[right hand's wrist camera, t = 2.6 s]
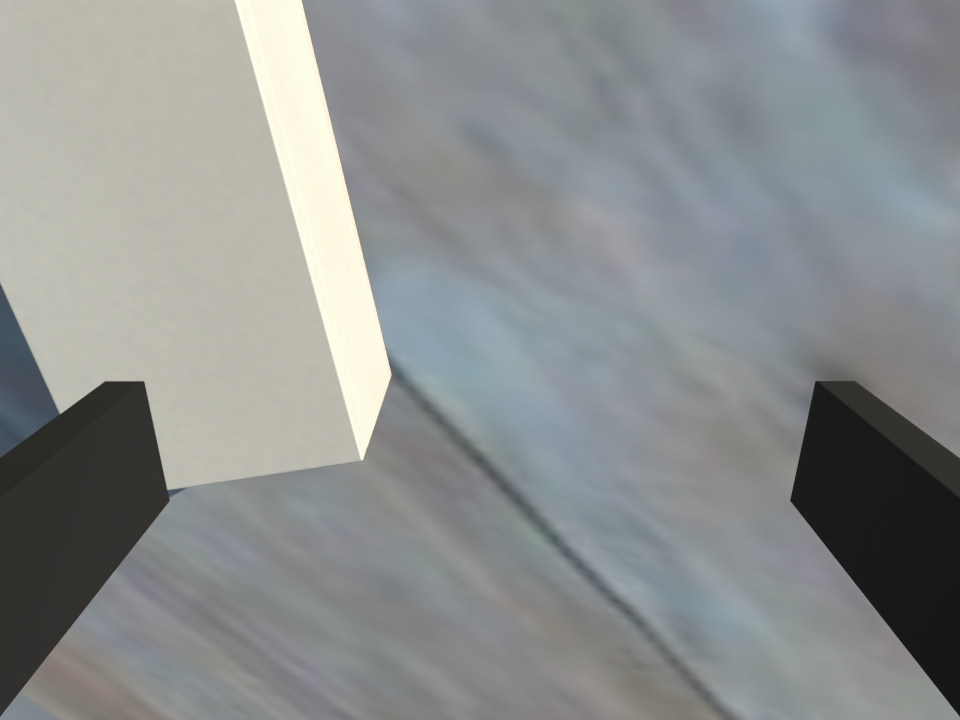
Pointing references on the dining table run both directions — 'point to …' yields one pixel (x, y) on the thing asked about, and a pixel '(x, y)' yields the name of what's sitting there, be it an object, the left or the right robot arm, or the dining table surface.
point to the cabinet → (187, 229)
